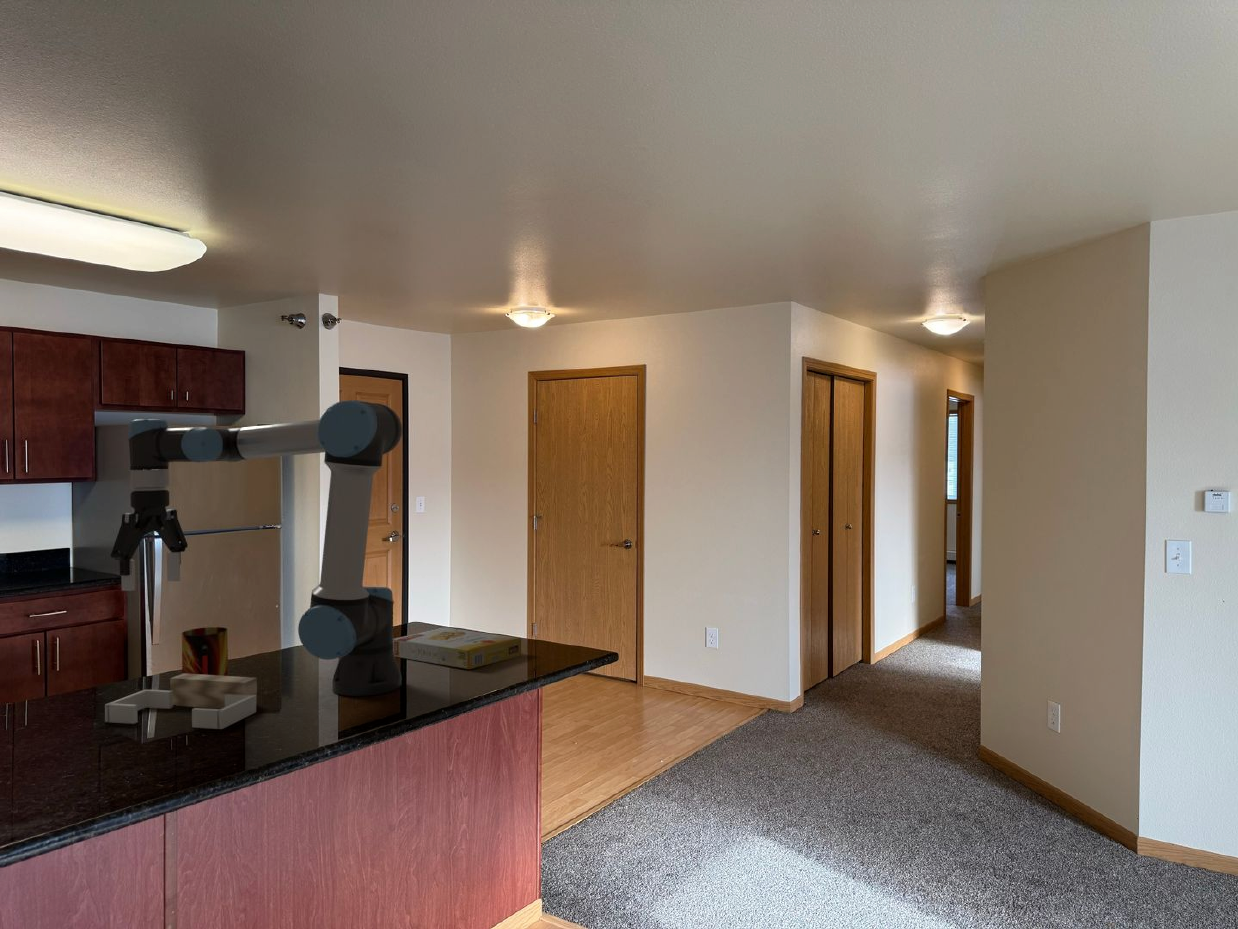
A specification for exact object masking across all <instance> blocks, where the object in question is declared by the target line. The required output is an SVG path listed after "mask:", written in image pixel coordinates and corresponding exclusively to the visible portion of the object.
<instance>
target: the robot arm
mask: <svg viewBox="0 0 1238 929" xmlns="http://www.w3.org/2000/svg"><path fill="white" fill-rule="evenodd" d="M128 429H129V431H128V438H127V439H128V447H129V450H128V451H129V465H130V467H129V470H130V471H129V472H130V474H129V477H130V479H129V480H130V484H129V485H130V488H131V489H133V490H131V492H130V499H129V500H130V507H131V508H133V509H134V512H130V513H129V512H125V513H122V515H121V524H120V527H119V530H118V533H117V535H116V536H117V537H116V539H115V541H114V544H113V547H112V550H111V553H110V558H112V559H114V561H119V575H120V576H121V577H120V578H121V579H120V580H121V591H122V592H124V591H126V592H131V591H132V592H133V591H136V560H135V559H133V556H134V555H135V553H136V551H137V549H138V548H139V546H140V544H141V543H142V540H143V539H144V537H145V536H146V535H147V534H148V533H153V532H155V533H157V535H158V536H159V538H160V539H161V540H162V541H163V544H164V545H165V546H166V547H167V549H168V550H169V551H168V552H166V571H167V572H166V573H167V574H166V576H167V577H166V578H167V582H180V581H181V564H182V561H181V560H182V559H181V556H182V555H181V553H183V552H185V551H186V549H187V548H188V547H189V546H188V541H187V539H186V536H185V534H184V532H183V529H182V527H181V524H180V522H179V519H178V518H179V517H178V511H177V509H174V508H173V509H171V508H170V509H169V508H168V509H167V507H169V506H170V491H169V490H168V489H167V488H169V487H170V470H169V467H170V466H169V465H170V463H175V462H176V463H206V462H229V463H231V462H233V463H234V462H240V461H241V462H242V461H245V460H252V459H253V460H254V459H263V458H264V459H265V458H275V457H277V458H278V457H287V456H298V455H308V454H309V455H310V454H321V453H324V461H323V463H324V464H325V465H326V466H327V467H328V469H329V470H330V479H329V488H328V490H329V491H328V499H327V508H326V509H327V511H326V519H325V520H326V521H325V529H324V531H325V532H324V539H323V540H324V541H323V550H322V559H321V560H322V561H321V570H320V582H319V584H318V585H317V586H316V587H315V588H313V589H312V590H311V595H310V605H309V608H308V609H307V610H306V611H305V612H304V613H303V614H302V615H301V617H300V619H299V621H298V622H299V623H298V627H297V629H298V630H297V632H298V637H299V638H298V639H299V640H300V642H301V645H302V646H303V647H304V648H305V650H307V652H308V653H309V655H310V654H311V655H312V656H314V657H315V658H317V659H320V660H326V661H327V660H328V661H329V660H330V661H331V660H335V659H338V662H337V664H336V668H335V671H334V673H333V674H334V675H333V678H332V681H331V682H332V683H331V684H332V685H331V686H332V688H331V689H332V690H331V691H332V692H334V693H335V694H338V695H340V696H342V695H343V696H347V697H349V696H350V697H365V696H366V697H367V696H376V695H381V694H386V693H389V692H392V691H395V690H397V689H399V688H400V687H401V686H402V672H401V671H400V666H399V664H398V661H397V657H395V655H394V652H393V639H394V602H395V601H394V597H393V595H394V594H393V591H392V590H391V588H389V587H385V586H364V581H363V580H364V574H365V573H364V572H365V565H366V564H365V562H366V551H367V543H368V535H369V534H368V532H369V524H370V523H369V522H370V513H371V503H372V502H371V501H372V494H373V493H372V492H373V491H372V490H373V483H374V474H376V473H377V472H378V471H379V470H380V469H381V468H382V465H383V459H384V458H383V457H384V456H383V455H385V454H389V453H390V452H391V451H393V450H394V449H395V448H396V447H397V446H398V445H399V443H400V440H401V438H402V436H403V425H402V422H401V419H400V417H399V416H398V414H397V413H396V412H395V410H393V409H392V408H391V407H390V406H387V405H385V404H381V403H376V402H368V401H363V400H362V401H361V400H357V399H355V400H354V399H353V400H351V399H350V400H349V399H348V400H342V401H338V402H336V403H333V404H332V405H330V406H329V407H328V408H326V409H325V411H323V413H322V414H321V416H320V417H319V419H315V420H305V421H296V422H295V421H294V422H285V423H274V424H263V425H257V426H254V425H253V426H245V427H244V426H243V427H235V428H213V427H205V426H194V427H175V428H174V427H173V428H171V427H169V423H168V421H167V420H166V419H158V418H157V419H156V418H155V419H154V418H152V419H151V418H148V419H146V418H145V419H144V418H143V419H141V418H140V419H138V418H137V419H133V420H131V422H130V423H129V428H128Z"/></svg>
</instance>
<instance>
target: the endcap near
mask: <svg viewBox="0 0 1238 929" xmlns="http://www.w3.org/2000/svg"><path fill="white" fill-rule="evenodd" d="M255 713H257V705H256V695H244V694H226V695H225V708H222V709H216V708H202V707H193V708H192V709H191V725H192V726H191V728H197V729H199V728H200V729H212V730H213V729H214V730H223V729H225V728H227V727H230V726H231V725H233V724H235V723H237V722H239V721H241V720H243V719H245V718H247V717H249V716H251V715H253V714H255Z"/></svg>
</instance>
